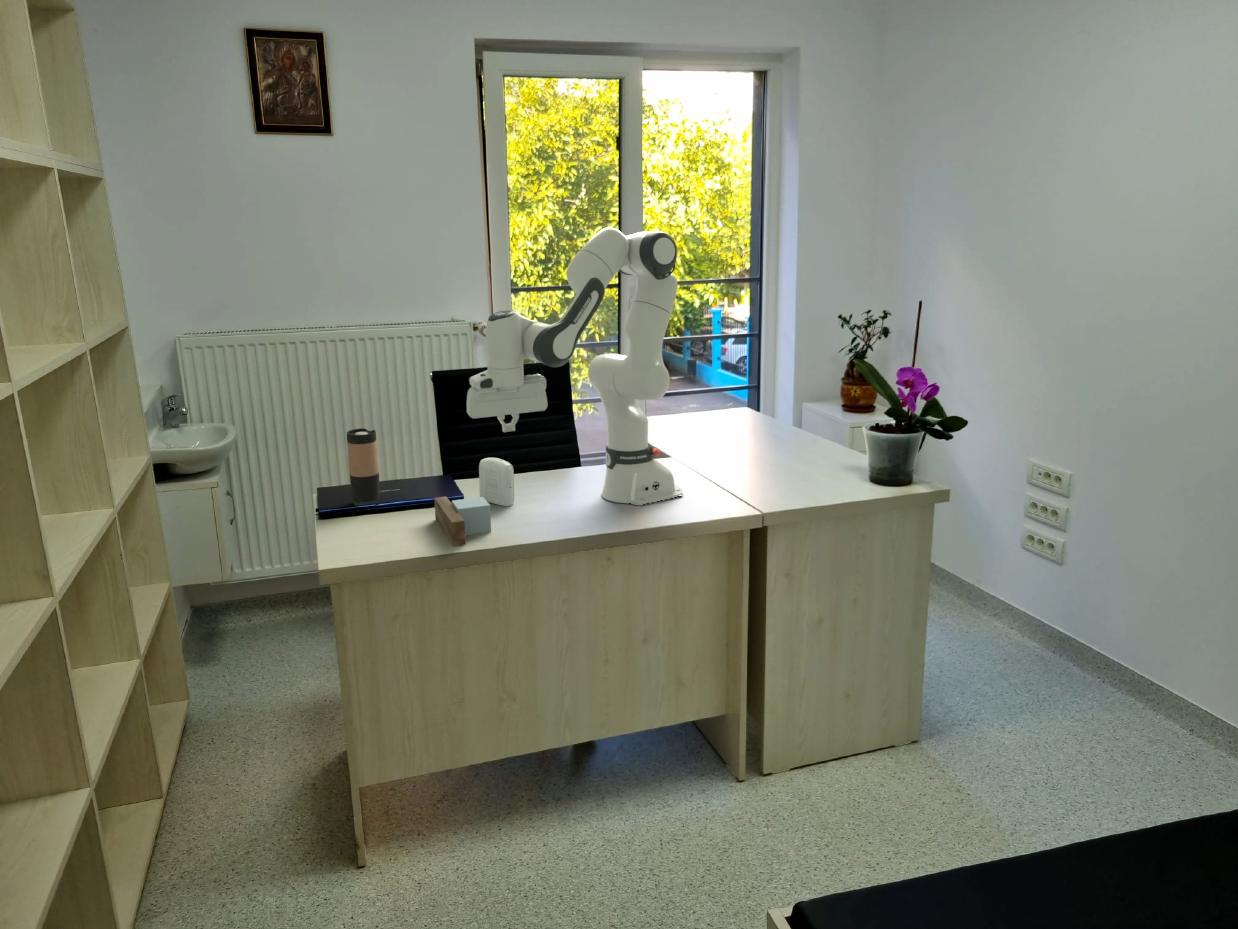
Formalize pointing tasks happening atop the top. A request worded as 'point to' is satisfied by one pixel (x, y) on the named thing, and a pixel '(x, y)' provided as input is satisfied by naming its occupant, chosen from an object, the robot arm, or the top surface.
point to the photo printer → (496, 481)
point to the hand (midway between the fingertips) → (508, 431)
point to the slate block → (474, 514)
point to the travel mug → (363, 465)
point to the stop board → (450, 521)
